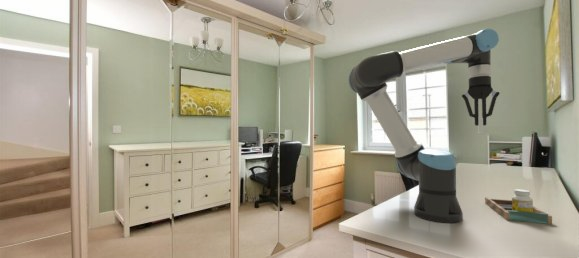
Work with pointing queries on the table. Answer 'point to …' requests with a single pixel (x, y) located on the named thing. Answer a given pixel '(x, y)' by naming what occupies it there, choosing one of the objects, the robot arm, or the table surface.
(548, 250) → the table surface
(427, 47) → the robot arm
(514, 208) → the supplement bottle
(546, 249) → the table surface
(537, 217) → the wooden tray
